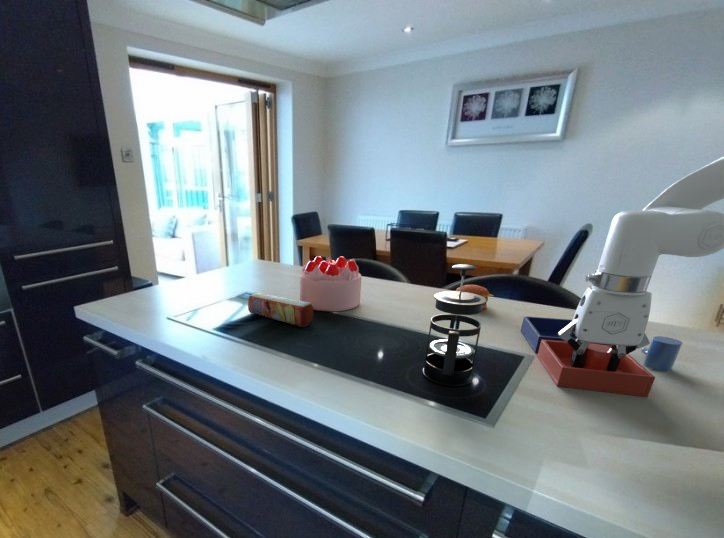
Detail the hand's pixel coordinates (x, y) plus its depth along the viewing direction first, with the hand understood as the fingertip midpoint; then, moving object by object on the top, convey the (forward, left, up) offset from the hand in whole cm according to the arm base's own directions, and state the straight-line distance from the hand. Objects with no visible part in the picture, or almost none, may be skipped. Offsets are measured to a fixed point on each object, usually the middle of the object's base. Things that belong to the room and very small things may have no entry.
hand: (591, 371), depth 77 cm
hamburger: (+17, -44, -2) cm, 47 cm away
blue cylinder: (-15, -12, -2) cm, 19 cm away
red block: (0, -2, -1) cm, 2 cm away
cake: (+60, -37, -2) cm, 70 cm away
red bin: (0, -2, -2) cm, 2 cm away
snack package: (+71, -17, -2) cm, 73 cm away
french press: (+27, +7, -2) cm, 28 cm away
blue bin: (0, -18, -2) cm, 18 cm away
